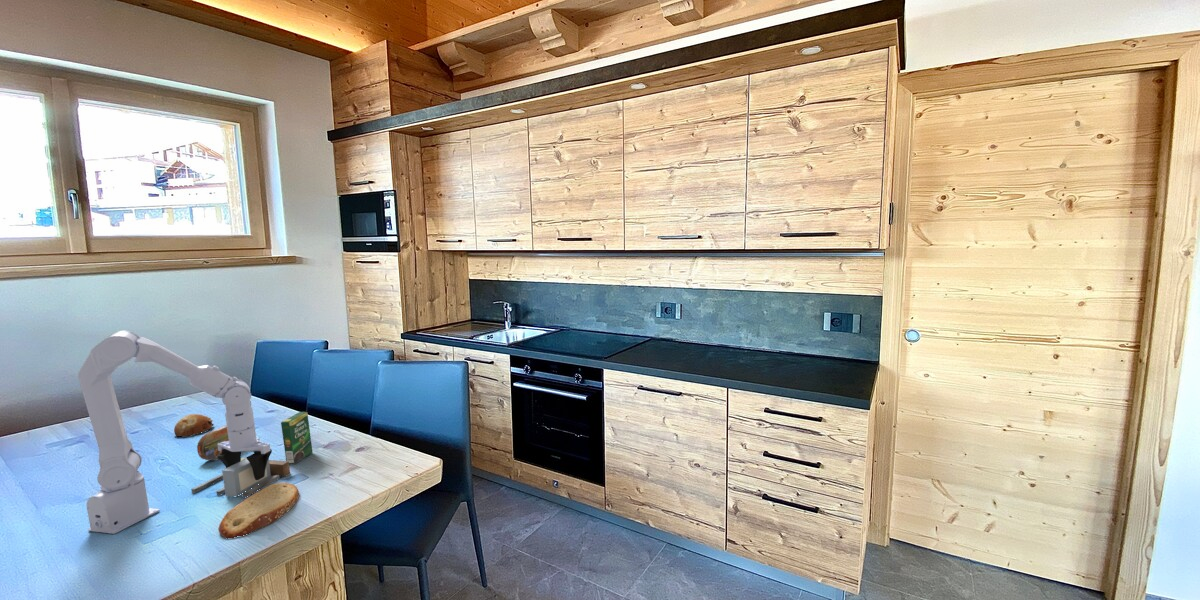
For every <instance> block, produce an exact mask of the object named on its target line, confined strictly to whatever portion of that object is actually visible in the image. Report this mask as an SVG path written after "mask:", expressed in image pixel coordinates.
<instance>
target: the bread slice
mask: <svg viewBox="0 0 1200 600" xmlns="http://www.w3.org/2000/svg"><path fill="white" fill-rule="evenodd" d="M299 497H300V492H299V488H298V487H297V485H295V484H293V483H290V482H277V483H271V484H269V485H267V486H266V487H264V488H262V489H260V490H259V491H257V492H255V493H253V494H252V495H250V496H248V497H246V498H244V500H243V501H241V502H240V503H238V504H236V505H235V506H234V507H233V508H231V509H230V510H229V511H227V512H226V513H225V514H224V516H223V518H222V519H221V521H220V523H219V526H218V533H219V535H221V536H222V537H223V538H224V539H226V538H227V539H226V540H229V539H228V538H232V539H235V538H234V537H237V536H242V537H244V536H243V535H246V534H248V535H250V534H251V532H252V533H253V531H254V532H255V530H256V531H258V530H260V529H263V528H265V527H268V526H269V525H271V524H273V523H275V522H277V521H278V520H279V519H280V517H281V516H282V517H283V516H285V515H286V514H287V513H288V512H289V511H290V509H291V508H292V509H293V507H294V505H295V504H297V502H298V500H299V499H298V498H299ZM294 503H295V504H294ZM292 509H291V510H292ZM288 510H289V511H288ZM287 511H288V512H287ZM286 512H287V513H286ZM285 513H286V514H285ZM284 514H285V515H284ZM282 517H281V518H282ZM277 519H278V520H277ZM276 520H277V521H276ZM274 521H275V522H274ZM262 527H263V528H262ZM249 533H250V534H249ZM246 536H247V535H246ZM237 538H238V537H237Z"/></svg>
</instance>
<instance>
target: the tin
mask: <svg viewBox="0 0 1200 600" xmlns="http://www.w3.org/2000/svg"><path fill="white" fill-rule="evenodd" d="M224 441H229V438H228V431H227V424H226V425H224V426H221V427H219V428H218V429H214V430H212V431H209V432H207V433H205V434H204V435H203V436H202V437H200V439H199V441H198V442H197V445H196V446H197V447H196V451H197V454H198V456H199V457H200V458H201V459H202V460H205V461H218V460H219V459H218V458H217V455H218V454H221V453H222V451H218V445H217V444H219V443H221V442H224ZM217 459H218V460H217Z"/></svg>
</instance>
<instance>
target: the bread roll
mask: <svg viewBox="0 0 1200 600" xmlns="http://www.w3.org/2000/svg"><path fill="white" fill-rule="evenodd" d="M213 422H214V420H213V419H212V418H211V417H209V416H206V415H204V414H203V415H202V414H195V413H194V414H193V413H191V414H188V415H185V416H183V417H181V418H180V419H179V420H178V421H177V422H176V424H175V426H174V429H173V430H174V431H173V433H174V435H175V436H176V437H177V436H187V437H189V436H188V435H192V434H197V433H201V432H204V431H206V432H208V431H210V430H211V429H212V427H214V425H215V424H214V423H213ZM209 429H210V430H209ZM207 430H208V431H207ZM204 433H205V432H204ZM201 434H202V433H201ZM197 435H198V434H197ZM192 436H193V435H192Z"/></svg>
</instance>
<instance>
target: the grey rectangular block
mask: <svg viewBox="0 0 1200 600" xmlns="http://www.w3.org/2000/svg"><path fill="white" fill-rule="evenodd" d="M245 458H246V457H245ZM269 460H270V458H269V459H268V461H267V465H266V469H265V476H264V477H263V478H261V479H259V480H255V478H254V474H253V469H252V467H251V464H250V463H249V461H248V460H247V458H246V459H244V460H242V461H240V462H238V463H236V464H234V465H232V466H230V467H228V468H226V467H225V468H224V469H222V470H221V472H222V473H221V474H223V479H222V480H223V486H224V487H223V488H225V493H224V494H225V497H229V496H238V495H240V494H242V493H244V492H245V491H248V490H250V489H251V488H253V487H255V486H257V485H258V484H260V483H262V482H264V481H266V480H268V479H269V478H271V477H272V476H271V473H270V465H269ZM240 496H241V495H240ZM238 497H239V496H238Z"/></svg>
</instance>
